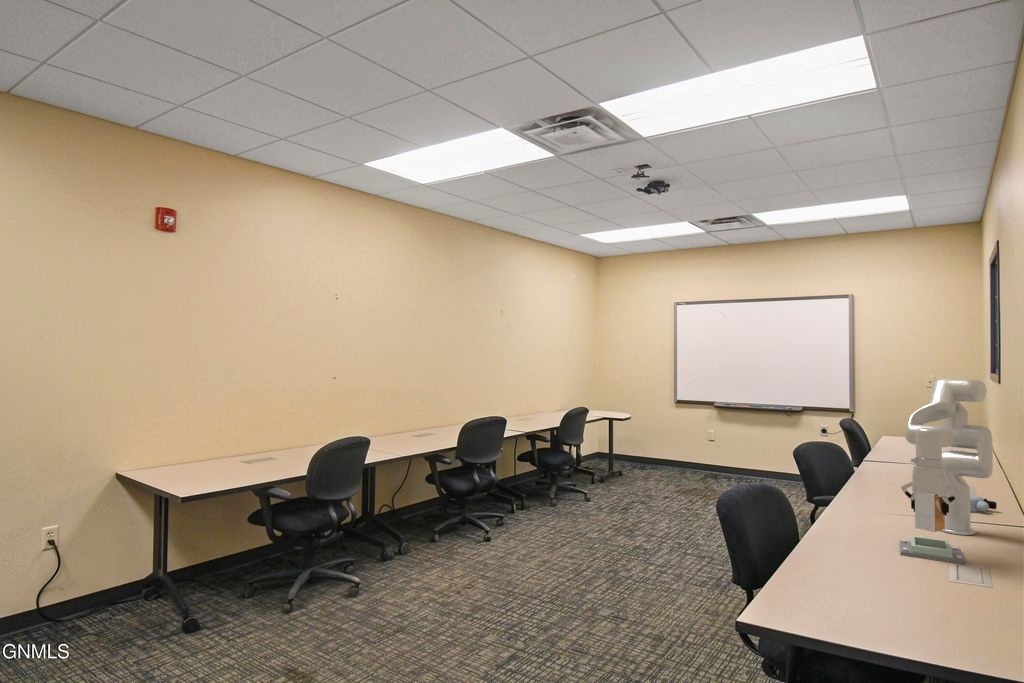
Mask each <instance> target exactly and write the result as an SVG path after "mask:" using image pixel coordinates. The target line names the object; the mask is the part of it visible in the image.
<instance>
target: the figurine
mask: <svg viewBox="0 0 1024 683" xmlns="http://www.w3.org/2000/svg"><path fill="white" fill-rule="evenodd" d="M990 509H992V510H996V509H997V502H996V501H992V500H988V499H987V498H984V497H982V496H979V495H976V494H974V493H972V492H970V513H972V512H973V513H980V511H981V512H987V511H988V510H990Z"/></svg>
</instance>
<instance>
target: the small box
mask: <svg viewBox="0 0 1024 683" xmlns="http://www.w3.org/2000/svg"><path fill="white" fill-rule="evenodd" d="M943 503H944V500H943V499H942V497H938V494H933V493H924V492H918V493H917V494H915V512H914V513H915V514H914V515H915V516H914V522H915V523H914V526H915V529H918V530H923V531H926V532H930V533H931V532H933V533H937V532H939V531H940V530H942V529H945V515H944V512H943Z"/></svg>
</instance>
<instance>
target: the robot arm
mask: <svg viewBox="0 0 1024 683" xmlns="http://www.w3.org/2000/svg"><path fill="white" fill-rule="evenodd" d="M987 392H988V391H987V387H986V384H985V383H984V382H983V381H982V380H980V379H979V380H978V379H974V378H954V377H953V378H951V377H949V378H947V377H946V378H939V379H937V380H935V381H933V382H932V384H931V390H930V394H929V398H928V400H927V404H925V405H924V406H921V407H920V408H919V409H916V410H915V411H914V412H913V413H912V414H911V415H910V416H909V418H908V420H907V424H906V427H905V432H904V436H905V439H906V441H907V443H909V444H910V445H913V446H915V457H914V458H912V457H911V458H910V462H911V463H914V465H913V466H912V467H913V468H912V472H911V473H912V474H911V475H912V477H911V481H909V482H907V483H905V484H903V485H901V486H900V488H901V491H902V492H903V493H904V495H905V496H907V497H908V498H909V499H910V506H911V507H910V508H911V509H912V510H913V513H915V494H917V493H918V492H924V493H933V494H938V497H942V499H943V500H944V503H943V512H944V515H945V529H942V530H939V531H940V532H943V533H947V534H953V535H960V536H973V535H976V533H977V532H976V529H975V528H972V527H971V512H970V493H971V489H970V486H969V484H968V483H967V481H966V480H965V479H964V478H963V477H969V478H976V479H989V478H991V476H992V474H993V466H994V464H993V463H994V462H993V461H994V460H993V454H994V453H993V452H994V451H993V435H992V431H991V429H989V427H987V426H985V425H979V424H969V412H968V410H967V409H966V407H965V406H964V405H963V404H962V403H961V402H969V403H981V402H983V401H984V400H985V399H986V397H987ZM938 421H941V426H940V425H932V424H931V425H929V424H928V423H934V422H938ZM948 447H950V448H958V449H969V450H975V451H976V452H970V451H969V452H968V451H962V450H961V451H958V450H942V448H948ZM909 488H911V490H912V493H910V491H908V489H909Z"/></svg>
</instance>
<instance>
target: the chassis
mask: <svg viewBox="0 0 1024 683" xmlns="http://www.w3.org/2000/svg"><path fill="white" fill-rule="evenodd" d="M899 551H900V552H899V553H900V556H904V557H905V556H906V557H912V558H913V557H914V558H918V559H919V558H920V559H925V560H927V559H928V560H933V561H940V562H945V563H953V564H957V565H959V564H960V565H966V560H965V557H964V554H963V552H962V549H961V548H959V546H951V543H950V541H949V540H945V539H939V538H932V537H931V538H929V537H922V536H916V535H910V541H909V540H908V539H899Z"/></svg>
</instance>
